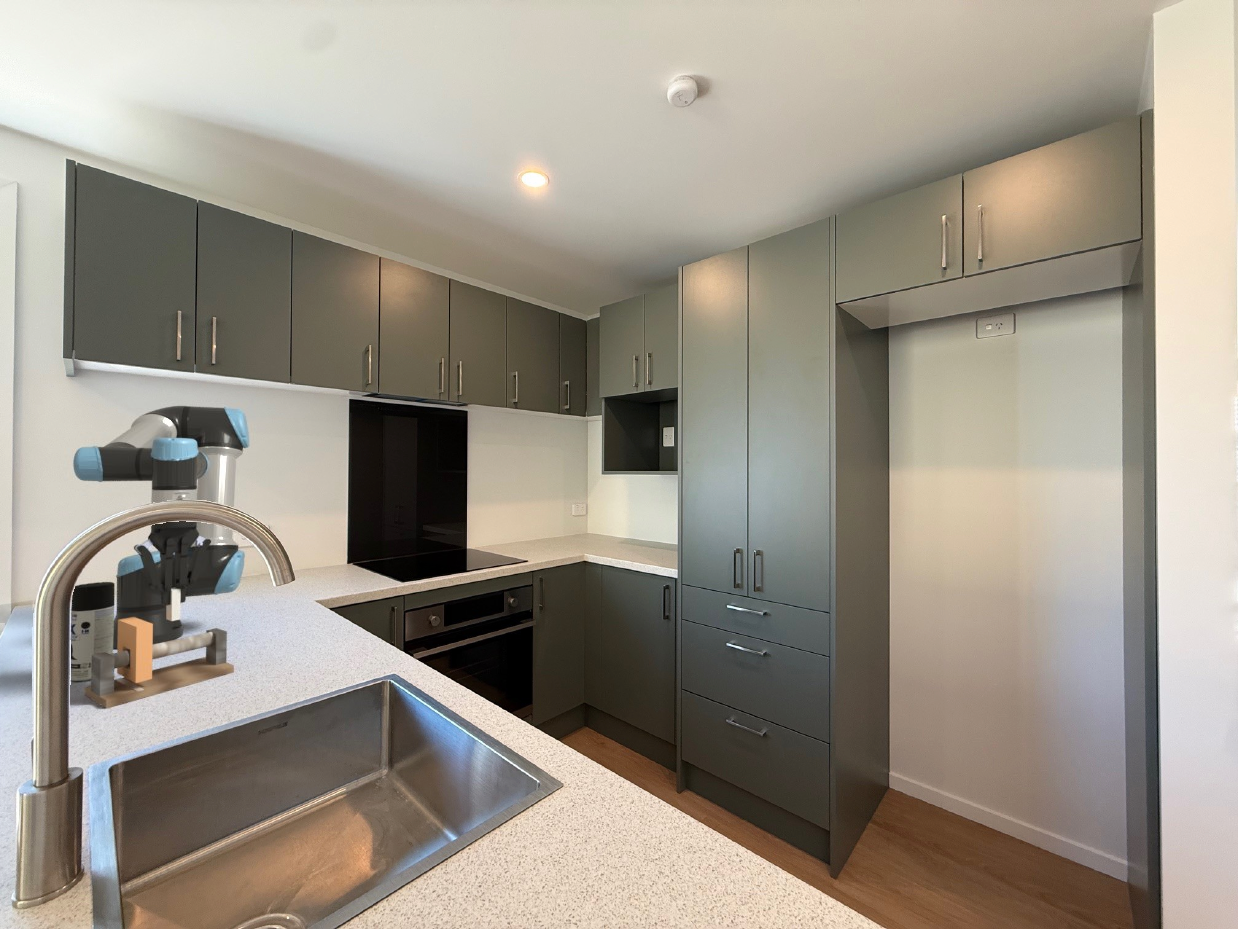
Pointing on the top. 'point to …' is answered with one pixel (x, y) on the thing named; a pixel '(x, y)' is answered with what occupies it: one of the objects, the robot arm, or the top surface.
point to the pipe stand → (163, 678)
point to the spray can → (91, 626)
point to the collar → (136, 648)
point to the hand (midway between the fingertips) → (173, 619)
